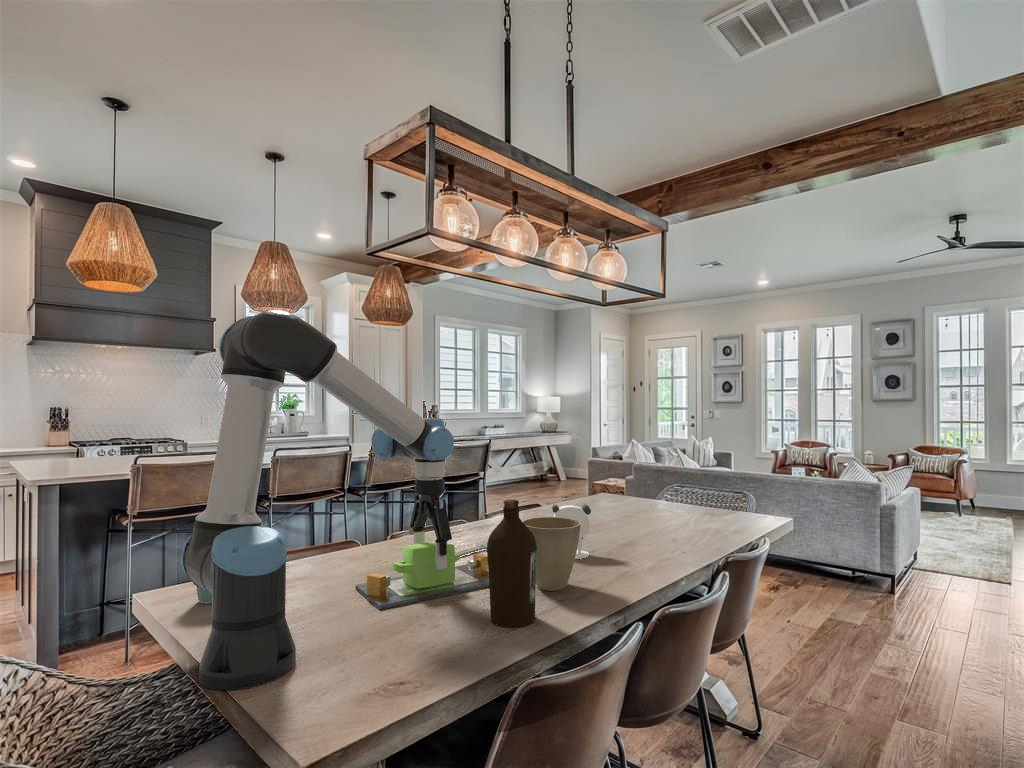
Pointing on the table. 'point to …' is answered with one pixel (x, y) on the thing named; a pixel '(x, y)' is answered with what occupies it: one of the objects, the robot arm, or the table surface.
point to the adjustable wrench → (473, 549)
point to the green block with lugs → (425, 565)
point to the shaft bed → (399, 593)
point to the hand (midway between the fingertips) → (429, 562)
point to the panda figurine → (580, 516)
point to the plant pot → (554, 550)
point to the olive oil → (512, 570)
